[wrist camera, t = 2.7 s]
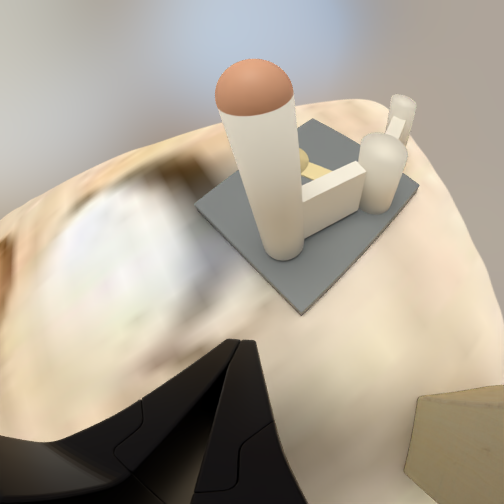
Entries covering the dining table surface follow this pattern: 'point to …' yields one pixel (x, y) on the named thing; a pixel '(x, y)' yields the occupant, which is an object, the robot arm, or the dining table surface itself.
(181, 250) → the dining table surface
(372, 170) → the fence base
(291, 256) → the fence post
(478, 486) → the toy refrigerator
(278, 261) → the board
